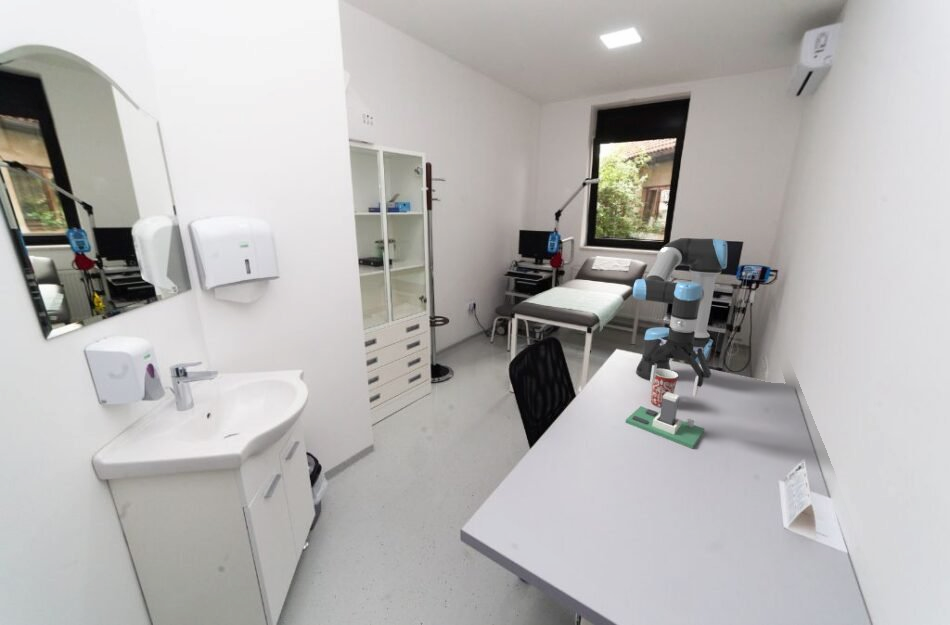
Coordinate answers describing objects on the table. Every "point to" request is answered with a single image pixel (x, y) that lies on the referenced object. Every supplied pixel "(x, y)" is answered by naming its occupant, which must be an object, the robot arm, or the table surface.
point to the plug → (669, 408)
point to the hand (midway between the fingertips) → (672, 387)
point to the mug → (662, 385)
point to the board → (666, 427)
